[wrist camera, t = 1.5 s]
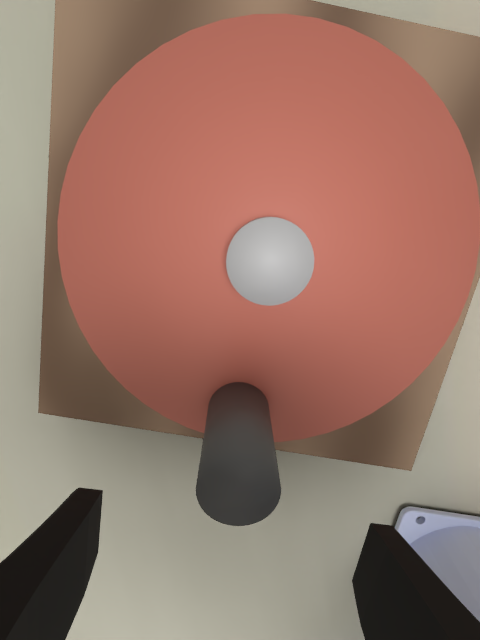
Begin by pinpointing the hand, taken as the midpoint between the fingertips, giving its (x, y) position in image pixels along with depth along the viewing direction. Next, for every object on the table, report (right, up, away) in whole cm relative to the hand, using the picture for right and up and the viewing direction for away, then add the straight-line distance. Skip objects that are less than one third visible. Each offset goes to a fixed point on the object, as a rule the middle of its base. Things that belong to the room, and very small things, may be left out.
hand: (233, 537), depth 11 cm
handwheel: (+1, +8, +6) cm, 10 cm away
